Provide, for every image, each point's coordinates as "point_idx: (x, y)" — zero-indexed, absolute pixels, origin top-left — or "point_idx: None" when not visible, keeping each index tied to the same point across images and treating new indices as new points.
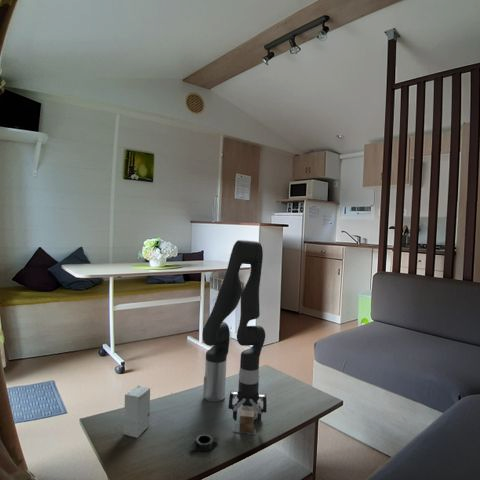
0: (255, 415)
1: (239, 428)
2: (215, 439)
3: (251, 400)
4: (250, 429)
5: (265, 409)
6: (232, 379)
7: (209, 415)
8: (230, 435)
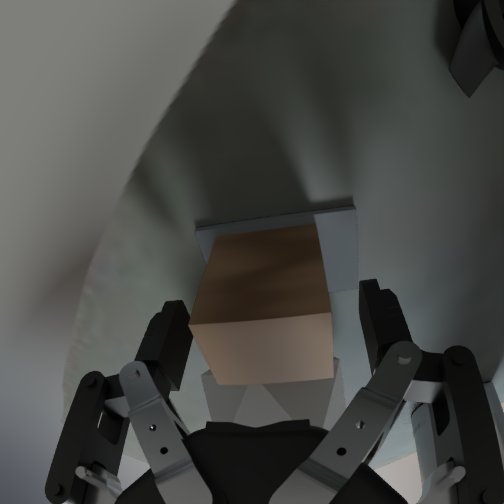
0: None
1: (322, 253)
2: (469, 51)
3: (183, 499)
4: (230, 247)
5: (81, 395)
6: (378, 464)
7: (490, 309)
8: (372, 167)
